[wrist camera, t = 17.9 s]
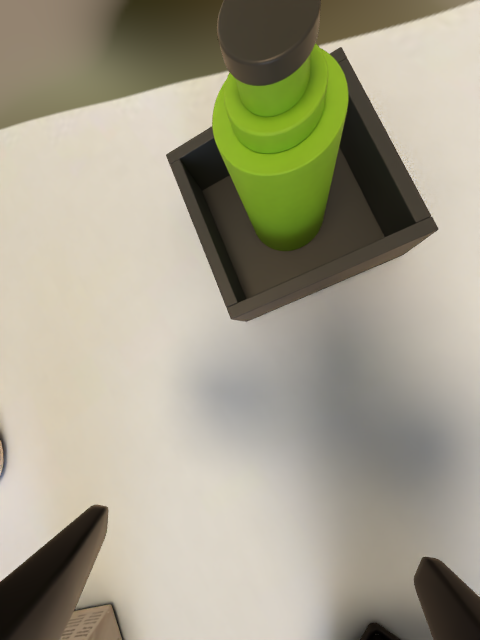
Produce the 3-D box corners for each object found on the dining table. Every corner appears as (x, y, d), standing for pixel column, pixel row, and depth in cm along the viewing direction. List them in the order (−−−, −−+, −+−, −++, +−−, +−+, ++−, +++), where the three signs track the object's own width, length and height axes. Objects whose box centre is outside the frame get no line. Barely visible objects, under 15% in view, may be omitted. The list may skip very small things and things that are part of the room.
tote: (403, 254, 17) (439, 229, 13) (246, 321, 20) (231, 319, 15) (331, 112, 19) (341, 46, 14) (193, 190, 21) (165, 154, 17)
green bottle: (336, 196, 18) (414, -78, 6) (303, 262, 18) (310, 131, 6) (272, 173, 19) (226, -96, 7) (241, 235, 20) (148, 81, 7)
